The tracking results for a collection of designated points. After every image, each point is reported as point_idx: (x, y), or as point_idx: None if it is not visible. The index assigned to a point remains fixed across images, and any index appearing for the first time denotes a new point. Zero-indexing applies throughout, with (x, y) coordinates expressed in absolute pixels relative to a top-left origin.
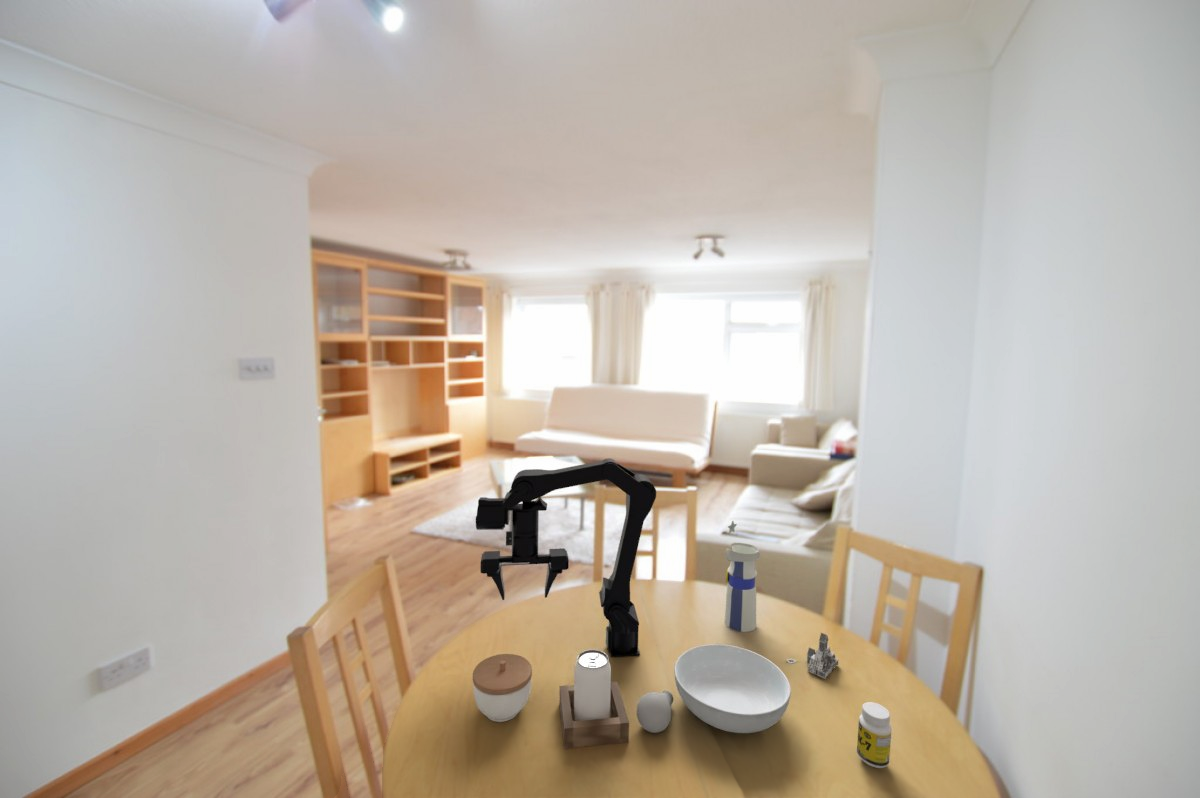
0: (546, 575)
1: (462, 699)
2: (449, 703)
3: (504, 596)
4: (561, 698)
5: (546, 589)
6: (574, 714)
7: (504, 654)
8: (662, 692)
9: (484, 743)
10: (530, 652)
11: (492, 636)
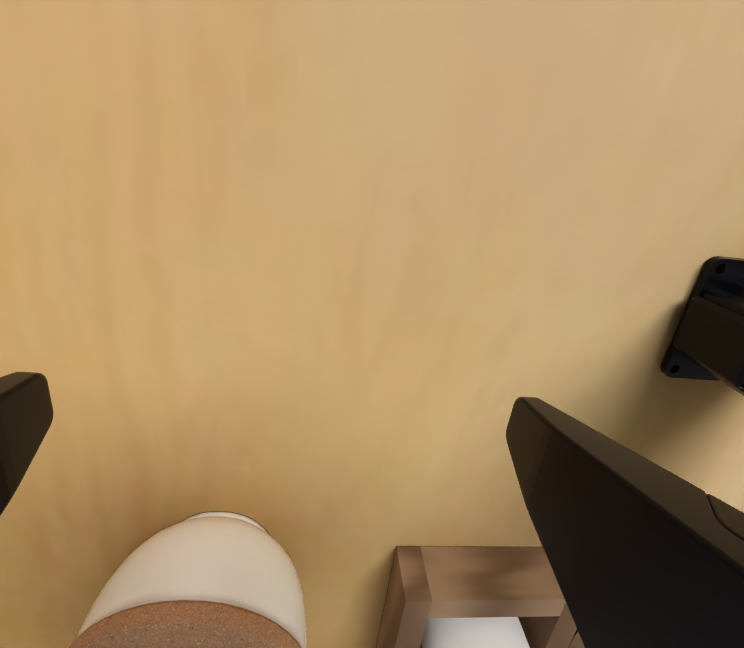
0: (712, 551)
1: (71, 495)
2: (27, 506)
3: (34, 388)
4: (397, 641)
5: (554, 561)
6: (421, 641)
7: (182, 631)
8: None
9: None
10: (339, 269)
11: (116, 46)
